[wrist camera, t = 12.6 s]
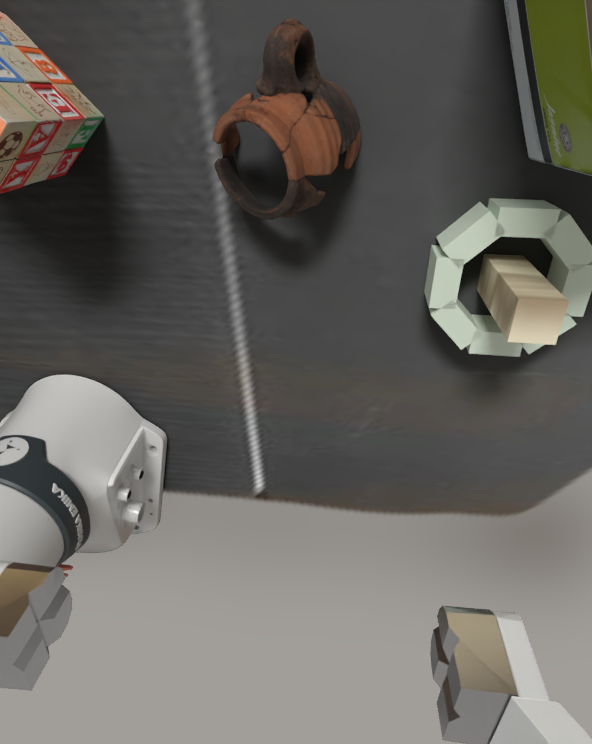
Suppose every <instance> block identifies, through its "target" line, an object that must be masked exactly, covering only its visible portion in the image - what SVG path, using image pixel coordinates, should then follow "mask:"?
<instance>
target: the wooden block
mask: <svg viewBox="0 0 592 744" xmlns="http://www.w3.org/2000/svg"><path fill="white" fill-rule="evenodd" d="M477 291H478V293H479V294H480V296H481V298H482V299H483V301H484V303H485V304H486V306H487V308H488V310H489V311H490V313H491V315H492V316H493V318H494V320H495V321H496V323H497V325H498V327H499V328H500V330H501V332H502V333H503V335H504V337H505V339H506V340H507V342H517V343H532V344H548V345H556V342H557V338H558V335H559V332H560V329H561V326H562V323H563V319H564V316H565V313H566V310H567V307H568V304H569V301H568V300H567V299H566V298H565V297H564V296H563V295H562V294H561V293H560V292H559V291H558V290H557V289H556V288H555V287H554V286H553V285H552V284H551V283H550V282H549V281H548V280H547V279H546V278H545V277H544V276H543V275H542V274H541V273H540V272H539V271H538V270H537V269H536V268H535V267H534V266H533V265H532V264H531V263H530V262H529V261H528V260H527V259H526V258H525V257H524V256H520V255H498V254H484V257H483V262H482V267H481V271H480V276H479V281H478V286H477Z"/></svg>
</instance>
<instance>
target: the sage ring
mask: <svg viewBox="0 0 592 744" xmlns="http://www.w3.org/2000/svg"><path fill="white" fill-rule="evenodd" d="M499 237H525V238H540V239H541V241H542V242H543V244H544V245H545V246H546V248H547V249H548V250H549V252H550V253H551V254H552V256H553V258H552V262H551V265H550V269H549V272H548V276H547V280H548V281H549V282H550V283H551V284H552V285H553V286H554V287H555V288H556V289H557V290H558V291H559V292H560V293H561V294H562V295H563V296H564V297H565V298H566V299H567V300H568V301H569V304H568V307H567V310H566V313H565V316H564V319H563V323H562V326H561V329H560V332H559V335H561V334H562V333H564V332H565V331H567V330H569V329H570V328H572V327H573V326H575V325H577V324H576V323H575V322H574V320H573V319H572V318H571V316H577V317H583V315H584V312H585V309H586V306H587V303H588V300H589V297H590V294H591V292H592V245H591V244H590V242H589V241H588V240H587V238H586V237H585V235H584V234H583V232H582V231H581V230H580V228H579V227H578V225H577V224H576V222H575V221H574V220H573V218H572V217H571V215H570V214H569V213H567V212H565V211H564V210H562V209H560V208H558V207H556V206H555V205H553V204H550V203H548V202H547V201H545V200H527V199H498V198H489V202H488V207H487V208H486V207H485V206H484V205H483V204H482V203H481V202H479V203H477V204H476V205H475V206H474V207H473V208H471V209H470V210H469V211H468V212H466V213H465V214H464V215H463V216H461V217H460V218H459V219H458V220H457V221H455V222H454V223H453V224H452V225H450V226H449V227H448V228H447V229H446V230H444V231H443V232H442V233H441V234H439V235H438V236H437V237H436V238H437V240H438V242H439V244H440V246H438V245H431V251H430V257H429V264H428V270H427V277H426V283H425V290H424V294H425V297H426V301H427V304H428V307H429V311H430V314H431V316H432V317H433V318H434V320H435V321H436V322H437V323H438V324H439V325H440V326H441V328H442V329H443V330H444V331H445V332H446V333H447V334H448V336H449V337H450V338H451V339H452V340H453V341H454V342H455V344H456V345H457V346H458V347H459V348H460V349H461V350H462V349H463V348H465V347H466V348H467V350H468V353H469V354H484V355H499V356H514V357H520V354H521V350H522V347H523V348H524V349H525V350H526V352H527V353H528V354H530V353H532V352H534V351H535V350H537V349H538V348H540V347H542V346H543V345H545V344H532V343H517V342H507V340H506V339H505V337H504V335H503V333H502V332H501V330H500V328H499V327H498V325H497V323H496V321H495V320H494V318H493V316H490V315H473V314H470V313H469V311H468V310H467V309H466V308H465V307H464V306H463V304H462V303H461V302H460V301H459V300H458V298H457V296H458V291H459V286H460V281H461V275H462V270H463V265H464V264H465V263H467V262H468V261H469V260H471V259H472V258H473V257H475V256H476V255H477V254H478V253H480V252H481V251H482V250H484V249H485V248H486V247H488V246H489V245H490V244H492V243H493V242H494V241H495V240H497V239H498V238H499ZM559 335H558V336H559Z"/></svg>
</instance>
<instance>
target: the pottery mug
mask: <svg viewBox="0 0 592 744" xmlns="http://www.w3.org/2000/svg"><path fill="white" fill-rule="evenodd" d="M263 62H264V67H263V73H262V75H261V77H260V78H259V79H258V82H257V84H256V88H257V91H258V92H259V93H260V94H261V95H264V96H262V97H259V98H258V99H256V100H254V96H253V94H252V93H248V94H246V95H245V96H243V97H242V98H240V99H239V100H238V101H237V102H236V103H234V105H233V106H232V107H231V108H230V110H229V111H228V112H226V113H225V114H224V115H223V116H222V117H221V118H220V119H219V121H218V123H217V124H216V126H215V130H214V133H213V140H214V141H215V142H216V143H218V144H221V148H222V154H223V158H222V159H218V160H217V161H216V162H215V169H216V171H217V174H218V177H219V179H220V181H221V182H222V185H223V186H224V188H225V190H226V191H227V193H228V194H229V196H230V197H231V198H232V199H233V200H234V201H235V202H236V203H237V204H239V205H240V207H241V208H243V209H244V210H245V211H246V212H248V213H250V214H252V215H254V216H255V217H258V218H262V219H275V218H278V217H295V213H294V212H292V211H302V210H305V209H307V208H309V207H311V206H316V205H318V204H319V203H320V202H321V200H322V199H323V198H324V196H325V192H324V191H322V190H319V191H317V190H316V189H315V188H314V187H313V186H312V185H311V184H310V182H309V180H308V179H307V177H306V176H317V175H319V176H322V175H331V174H332V172H333V171H334V170H335V169H336V168H337V166H338V161H339V155H342V154H343V153H344V152H345V151H346V157H345V162H344V168H345V169H349V168H351V167H352V165H353V163H354V161H355V159H356V158H357V156H358V153H359V149H360V142H361V132H360V123H359V119H358V115H357V112H356V110H355V108H354V106H353V104H352V102H351V100H350V98H349V97H348V96H347V94H346V93H345V92H344V91H343V90H341V89H340V88H339V87H338V86H337V85H335V84H334V83H332V82H331V81H327V80H325V79H323V78H320V73H319V71H318V69H317V66H316V61H315V50H314V43H313V38H312V36H311V33H310V32H309V30H308V29H307V28H305V27H304V26H303V25H302V24H301V23H300V22H299V21H297V20H296V19H291V18H288V19H286V20H284V21H283V22H282V23H281V24H279V25H277V26H276V27H275V28H273V29H272V31H271V32H270V34H269V36H268V38H267V41H266V45H265V50H264V57H263ZM302 93H307V94H312V95H313V98H312V100H311V101H310V103H308V102H307V100H306V98H305V96H304V95H303V94H302ZM246 121H248V122H250V123H253V124H255V125H256V126H258V127H260V128H261V129H262V130H264V131H265V132H266V133H267V134H268V135H269V136H270V137H271V138H272V140H273V141H274V142H275V144H276V145H277V147H278V148H279V150H280V152H281V153H282V157H283V159H284V161H285V165H286V169H287V175H288V179H289V182H288V188H287V192H286V195H285V197H284V199H283V200H282V202H281V203H279V204H278V205H274V206H270V205H265V204H263V203H262V202H260V201H258V200H257V198H256V197H255V196H254V195H253V194H252V193H251V192H250V191H249V190H248V188H247V187H246V186H245V185H244V183H243V182H242V180H241V179H240V176H239V174H238V172H237V169H236V165H235V162H234V157H233V152H234V150H235V149H236V147H237V145H238V144H239V134H238V130H237V127H236V123H238V122H246Z"/></svg>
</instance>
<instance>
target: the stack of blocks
mask: <svg viewBox="0 0 592 744" xmlns="http://www.w3.org/2000/svg"><path fill="white" fill-rule="evenodd" d="M103 119H104V116H103V115H102V114H101V112H100V111H99V110H98V109H97V108H96V107H95V106H94V105H93V104H92V103H91V102H90V101H89V100H88V99H87V98H86V97H85V96H84V95H83V94H82V93H81V92H80V91H79V90H78V89H77V88H76V87H75V86H74V85H73V83H72V81H71V80H70V79H69V78H68V77H67V76H66V75H65V74H64V73H63V72H62V71H61V70H60V69H59V68H58V67H57V66H56V65H55V64H54V63H53V62H52V61H51V60H50V59H49V58H48V57H47V56H46V55H45V54H44V53H43V52H42V51H41V50H40V49H39V48H38V47H37V46H36V45H35V44H34V43H33V42H32V41H31V39H30V38H29V37H28V36H27V35H26V34H25V33H24V32H23V31H22V30H21V29H20V28H19V27H18V26H17V25H16V24H15V23H14V22H13V21H12V20H11V19H10V18H9V17H8V16H7V15H5V14H3V13H1V12H0V193H5V192H8V191H11V190H16V189H18V188H21V187H23V186H26V185H29V184H32V183H36V182H39V181H43V180H48V179H52V178H55V177H59V176H63V175H65V174H66V173H67V172H68V170H69V169H70V167H71V166H72V165H73V163H74V162H75V160H76V159H77V157H78V156H79V154H80V153H81V151H82V150H83V148H84V146H85V144H86V143H87V141H88V140H89V139H90V137H91V136H92V134H93V133H94V131H95V130H96V129H97V127H98V126H99V124H100V123H101V121H102V120H103Z"/></svg>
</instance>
